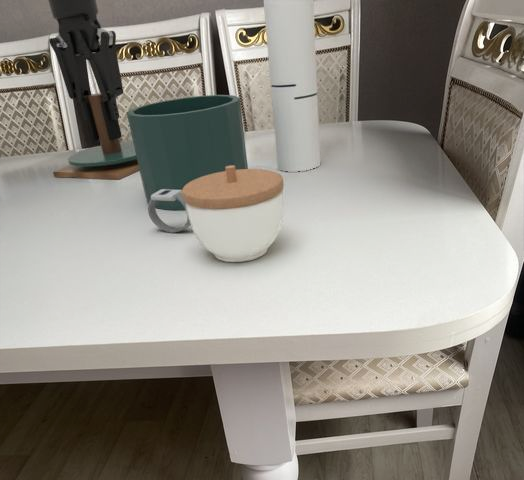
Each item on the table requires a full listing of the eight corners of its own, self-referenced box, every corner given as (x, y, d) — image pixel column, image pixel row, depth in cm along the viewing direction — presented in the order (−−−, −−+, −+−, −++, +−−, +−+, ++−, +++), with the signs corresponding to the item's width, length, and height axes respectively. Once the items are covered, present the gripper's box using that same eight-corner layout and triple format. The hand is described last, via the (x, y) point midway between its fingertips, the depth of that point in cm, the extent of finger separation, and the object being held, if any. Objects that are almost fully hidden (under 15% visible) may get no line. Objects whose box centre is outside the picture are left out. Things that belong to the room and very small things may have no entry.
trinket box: (278, 228, 64) (271, 148, 59) (298, 261, 55) (291, 171, 50) (191, 242, 63) (177, 162, 58) (197, 278, 54) (180, 188, 49)
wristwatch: (200, 228, 67) (194, 189, 64) (189, 236, 65) (182, 196, 62) (160, 226, 70) (152, 188, 67) (149, 233, 68) (140, 195, 65)
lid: (50, 168, 100) (30, 104, 94) (112, 146, 112) (97, 88, 105) (115, 171, 92) (98, 101, 86) (174, 147, 104) (162, 84, 98)
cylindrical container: (281, 161, 92) (267, -11, 78) (322, 159, 90) (315, -17, 77) (274, 172, 86) (257, -11, 72) (317, 170, 84) (309, -18, 71)
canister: (125, 207, 78) (103, 117, 72) (184, 176, 90) (170, 97, 83) (215, 213, 72) (200, 114, 65) (266, 179, 83) (258, 93, 76)
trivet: (54, 177, 100) (52, 171, 99) (109, 155, 111) (108, 150, 111) (119, 179, 93) (117, 173, 92) (170, 156, 105) (169, 151, 104)
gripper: (123, -18, 86) (154, 133, 99) (50, -6, 93) (87, 134, 106) (91, -17, 80) (128, 143, 93) (16, -4, 87) (60, 143, 100)
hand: (107, 138), depth 99 cm, fingers closed on lid, 4 cm apart
